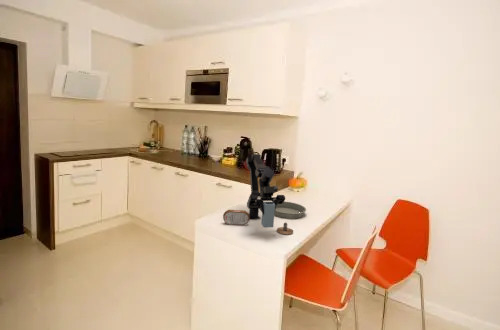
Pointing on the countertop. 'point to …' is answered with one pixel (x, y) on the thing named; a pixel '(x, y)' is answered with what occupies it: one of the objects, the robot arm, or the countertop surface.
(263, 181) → the robot arm
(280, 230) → the pin base
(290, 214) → the cake pan
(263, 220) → the sleeve
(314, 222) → the countertop surface
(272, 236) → the countertop surface
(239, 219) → the tin
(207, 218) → the countertop surface
